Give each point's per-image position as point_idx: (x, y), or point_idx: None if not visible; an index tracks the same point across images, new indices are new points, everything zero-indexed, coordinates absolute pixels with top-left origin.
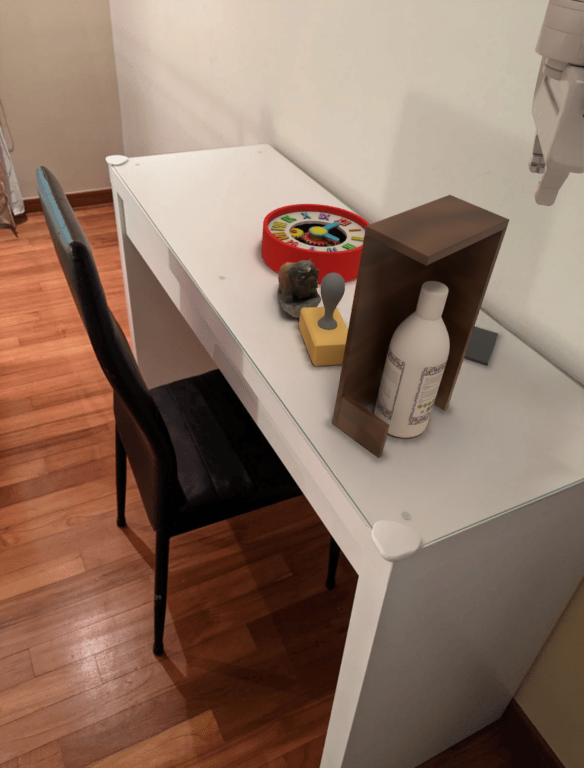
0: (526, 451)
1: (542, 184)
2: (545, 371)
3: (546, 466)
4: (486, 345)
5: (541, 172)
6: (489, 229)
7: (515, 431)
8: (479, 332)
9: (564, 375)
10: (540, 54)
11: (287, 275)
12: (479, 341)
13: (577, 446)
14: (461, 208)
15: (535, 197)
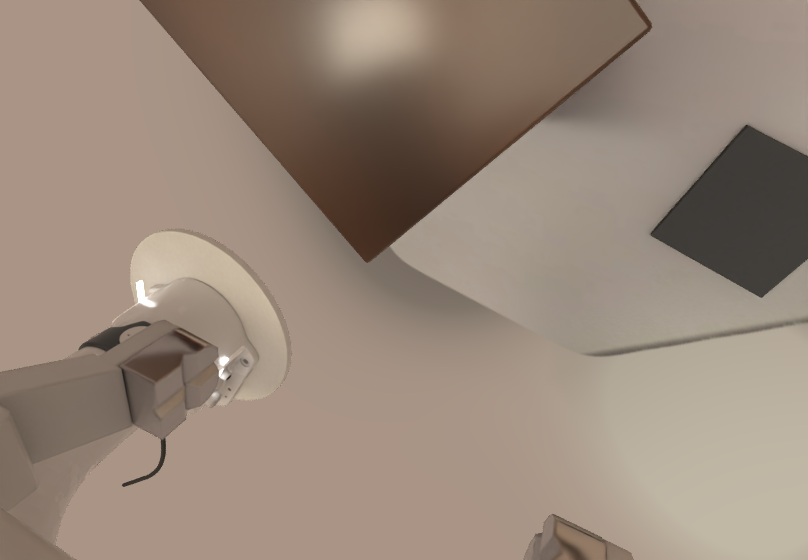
0: (433, 214)
1: (73, 360)
2: (619, 326)
3: (409, 229)
4: (717, 256)
5: (529, 547)
6: (266, 145)
7: (472, 215)
8: (776, 260)
9: (604, 349)
10: None
11: None
12: (736, 247)
13: (446, 285)
14: (436, 61)
15: (167, 330)
